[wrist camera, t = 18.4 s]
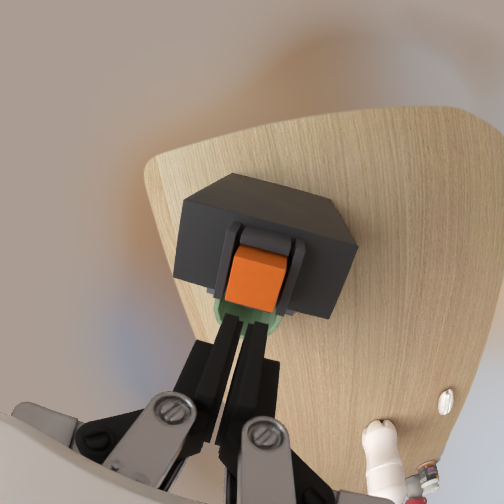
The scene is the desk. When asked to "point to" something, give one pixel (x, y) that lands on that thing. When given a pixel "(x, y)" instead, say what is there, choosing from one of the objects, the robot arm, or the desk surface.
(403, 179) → the desk surface
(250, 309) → the cup
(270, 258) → the button
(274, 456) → the robot arm
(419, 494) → the decorative ornament
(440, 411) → the white oval pebble
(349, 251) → the coffee maker
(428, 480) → the pill bottle
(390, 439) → the water bottle
